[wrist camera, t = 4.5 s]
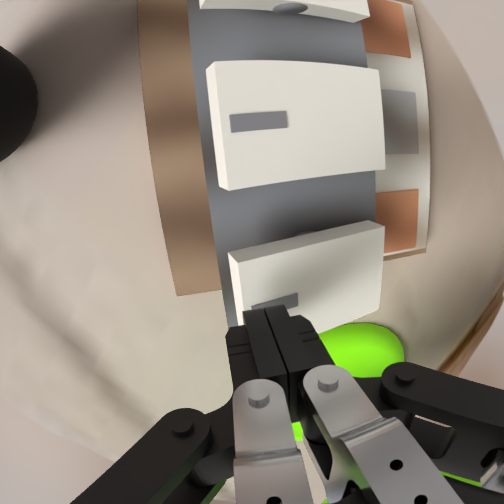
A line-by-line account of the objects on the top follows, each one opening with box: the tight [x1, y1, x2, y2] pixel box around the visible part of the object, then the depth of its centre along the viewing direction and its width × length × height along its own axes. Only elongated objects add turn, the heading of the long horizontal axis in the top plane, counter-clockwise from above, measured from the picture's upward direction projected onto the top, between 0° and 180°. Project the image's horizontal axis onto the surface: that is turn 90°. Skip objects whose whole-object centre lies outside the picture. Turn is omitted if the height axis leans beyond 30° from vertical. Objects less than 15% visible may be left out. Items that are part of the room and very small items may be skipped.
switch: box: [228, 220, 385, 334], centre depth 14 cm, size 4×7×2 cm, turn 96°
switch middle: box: [206, 60, 385, 191], centre depth 11 cm, size 4×7×2 cm, turn 96°
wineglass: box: [291, 323, 482, 504], centre depth 20 cm, size 16×16×18 cm
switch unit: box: [137, 0, 431, 329], centre depth 16 cm, size 20×19×6 cm
